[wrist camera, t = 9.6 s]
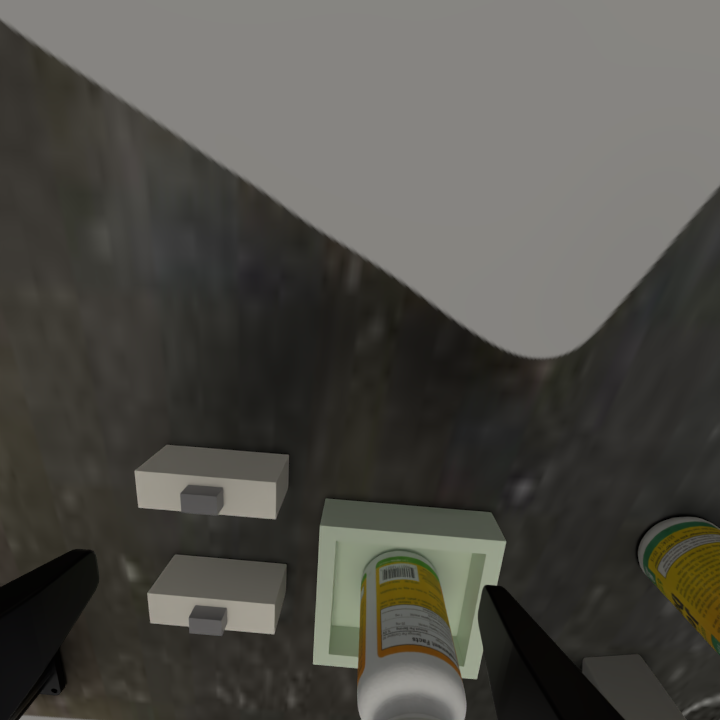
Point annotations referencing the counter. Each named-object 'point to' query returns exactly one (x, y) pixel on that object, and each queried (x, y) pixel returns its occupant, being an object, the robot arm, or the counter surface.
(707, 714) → the counter surface
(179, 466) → the pair of white blocks
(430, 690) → the supplement bottle
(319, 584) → the tray
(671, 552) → the supplement bottle
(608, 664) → the lighter
